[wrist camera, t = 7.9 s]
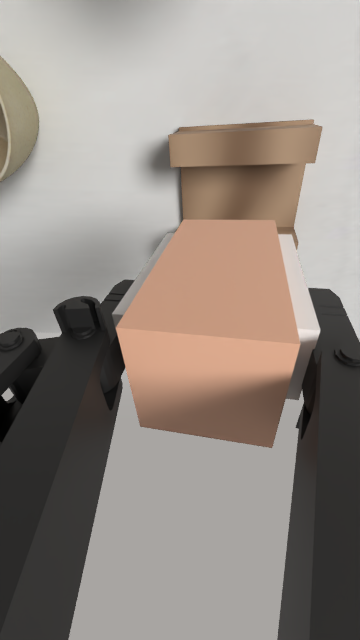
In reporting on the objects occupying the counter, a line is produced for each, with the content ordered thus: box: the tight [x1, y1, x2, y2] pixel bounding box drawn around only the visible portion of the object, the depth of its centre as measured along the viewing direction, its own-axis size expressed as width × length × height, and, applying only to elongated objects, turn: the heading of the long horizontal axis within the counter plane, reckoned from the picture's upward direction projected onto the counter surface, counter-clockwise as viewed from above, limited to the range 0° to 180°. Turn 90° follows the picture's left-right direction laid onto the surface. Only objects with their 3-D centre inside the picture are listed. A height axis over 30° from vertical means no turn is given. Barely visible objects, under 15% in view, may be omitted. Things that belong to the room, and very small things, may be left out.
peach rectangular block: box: [116, 219, 300, 448], centre depth 10 cm, size 4×4×8 cm
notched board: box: [168, 120, 322, 250], centre depth 23 cm, size 10×10×4 cm
